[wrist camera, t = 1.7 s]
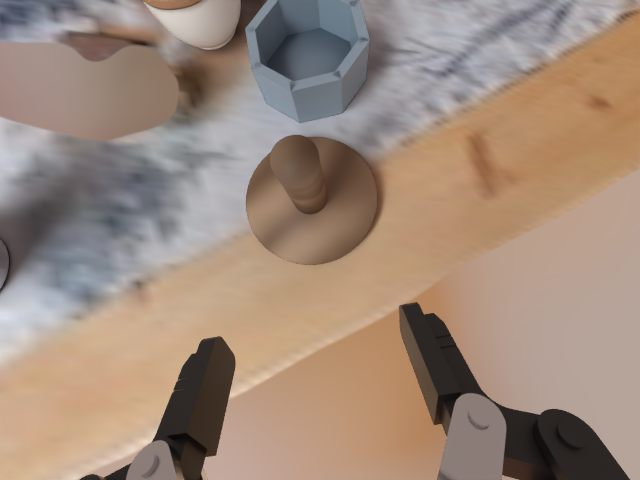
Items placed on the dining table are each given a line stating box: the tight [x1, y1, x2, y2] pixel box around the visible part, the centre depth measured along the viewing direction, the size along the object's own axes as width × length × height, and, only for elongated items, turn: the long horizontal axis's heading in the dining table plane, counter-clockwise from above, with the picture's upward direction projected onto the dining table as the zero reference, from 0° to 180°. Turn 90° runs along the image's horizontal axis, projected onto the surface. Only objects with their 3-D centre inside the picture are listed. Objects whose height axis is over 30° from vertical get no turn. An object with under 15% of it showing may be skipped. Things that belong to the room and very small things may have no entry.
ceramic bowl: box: [245, 0, 370, 123], centre depth 28 cm, size 12×12×5 cm
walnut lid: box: [246, 135, 377, 265], centre depth 23 cm, size 14×14×10 cm
